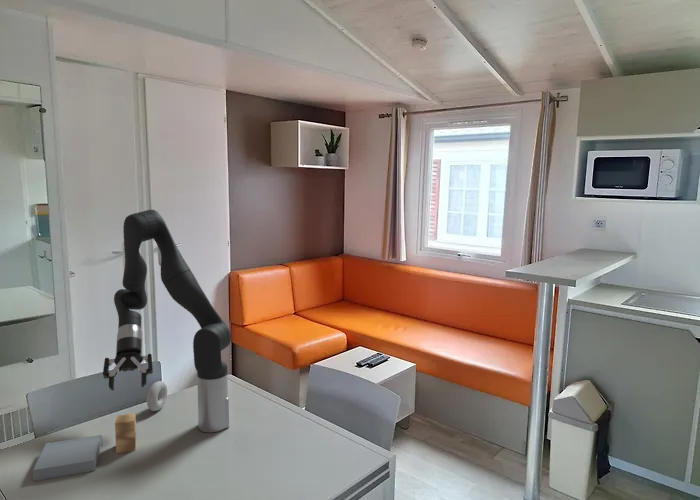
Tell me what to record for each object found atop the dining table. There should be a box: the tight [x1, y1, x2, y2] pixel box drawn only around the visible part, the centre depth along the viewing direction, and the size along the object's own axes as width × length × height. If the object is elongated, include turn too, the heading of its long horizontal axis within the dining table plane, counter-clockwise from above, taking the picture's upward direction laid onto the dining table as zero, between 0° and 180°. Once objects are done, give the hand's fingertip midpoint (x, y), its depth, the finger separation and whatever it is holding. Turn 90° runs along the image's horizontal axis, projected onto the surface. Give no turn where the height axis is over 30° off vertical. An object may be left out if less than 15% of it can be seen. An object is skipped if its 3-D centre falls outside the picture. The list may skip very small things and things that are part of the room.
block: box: [114, 413, 137, 454], centre depth 137 cm, size 5×5×9 cm
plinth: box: [32, 434, 103, 482], centre depth 130 cm, size 14×14×3 cm
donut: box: [146, 380, 168, 412], centre depth 162 cm, size 10×4×10 cm, turn 173°
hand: (127, 387), depth 146 cm, fingers open, 8 cm apart
